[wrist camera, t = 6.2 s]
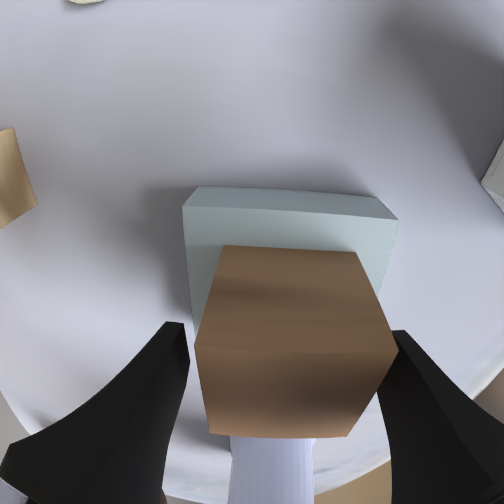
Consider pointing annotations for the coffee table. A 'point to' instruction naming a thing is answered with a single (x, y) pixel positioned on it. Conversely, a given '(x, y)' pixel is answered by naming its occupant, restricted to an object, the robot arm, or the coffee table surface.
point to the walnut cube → (290, 343)
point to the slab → (281, 229)
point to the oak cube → (13, 180)
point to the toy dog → (85, 1)
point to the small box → (496, 178)
